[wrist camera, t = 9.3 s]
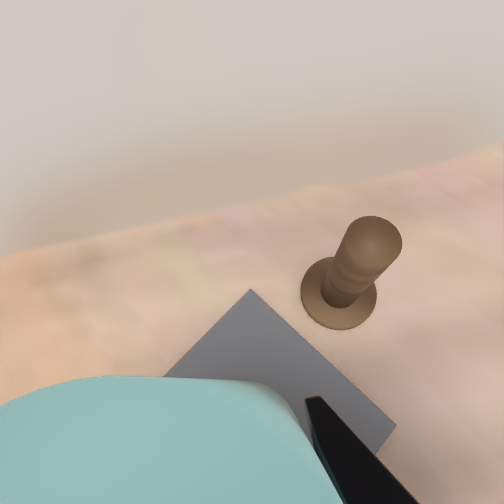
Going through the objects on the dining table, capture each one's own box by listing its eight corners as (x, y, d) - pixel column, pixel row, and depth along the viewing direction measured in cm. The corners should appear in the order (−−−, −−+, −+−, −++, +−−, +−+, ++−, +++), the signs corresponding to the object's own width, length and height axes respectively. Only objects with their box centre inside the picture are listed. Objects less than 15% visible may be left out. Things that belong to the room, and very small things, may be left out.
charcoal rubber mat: (254, 612, 16) (253, 617, 16) (117, 425, 20) (114, 426, 20) (394, 424, 19) (396, 425, 19) (250, 290, 23) (250, 288, 22)
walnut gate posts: (434, 673, 15) (632, 1039, 7) (327, 669, 15) (387, 1011, 7) (368, 258, 23) (420, 188, 15) (298, 260, 23) (310, 193, 15)
